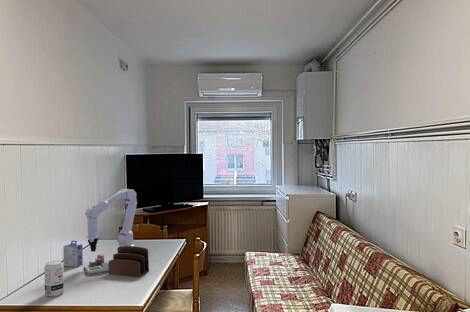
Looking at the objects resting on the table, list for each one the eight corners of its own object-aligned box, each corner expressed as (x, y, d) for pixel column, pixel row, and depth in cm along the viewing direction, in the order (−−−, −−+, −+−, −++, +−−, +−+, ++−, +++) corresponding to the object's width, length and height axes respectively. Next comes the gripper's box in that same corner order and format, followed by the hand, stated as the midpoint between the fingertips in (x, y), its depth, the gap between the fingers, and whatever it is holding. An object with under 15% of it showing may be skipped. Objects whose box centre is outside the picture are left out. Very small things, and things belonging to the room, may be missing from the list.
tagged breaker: (94, 265, 227) (94, 260, 227) (96, 267, 224) (95, 262, 224) (89, 266, 226) (89, 261, 226) (90, 268, 222) (90, 262, 222)
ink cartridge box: (83, 264, 236) (82, 240, 236) (78, 267, 231) (77, 242, 230) (68, 263, 238) (68, 240, 238) (63, 266, 233) (62, 242, 232)
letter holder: (118, 269, 225) (118, 245, 225) (149, 271, 220) (148, 246, 219) (108, 274, 216) (107, 249, 216) (140, 277, 210) (139, 251, 210)
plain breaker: (100, 263, 233) (100, 258, 233) (101, 264, 229) (101, 259, 229) (95, 263, 231) (95, 258, 231) (96, 265, 228) (96, 260, 228)
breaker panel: (106, 264, 235) (106, 260, 235) (113, 271, 220) (113, 267, 220) (84, 267, 229) (83, 263, 229) (88, 275, 214) (88, 271, 214)
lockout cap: (103, 262, 240) (103, 253, 240) (104, 263, 237) (104, 255, 237) (96, 263, 238) (96, 254, 238) (98, 264, 235) (97, 256, 235)
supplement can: (49, 291, 190) (48, 261, 190) (66, 290, 191) (65, 260, 191) (42, 297, 182) (41, 265, 182) (60, 297, 183) (59, 265, 183)
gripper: (87, 226, 236) (87, 248, 236) (83, 231, 222) (84, 255, 222) (99, 225, 237) (100, 247, 238) (97, 230, 223) (97, 254, 224)
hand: (93, 251), depth 230 cm, fingers closed
